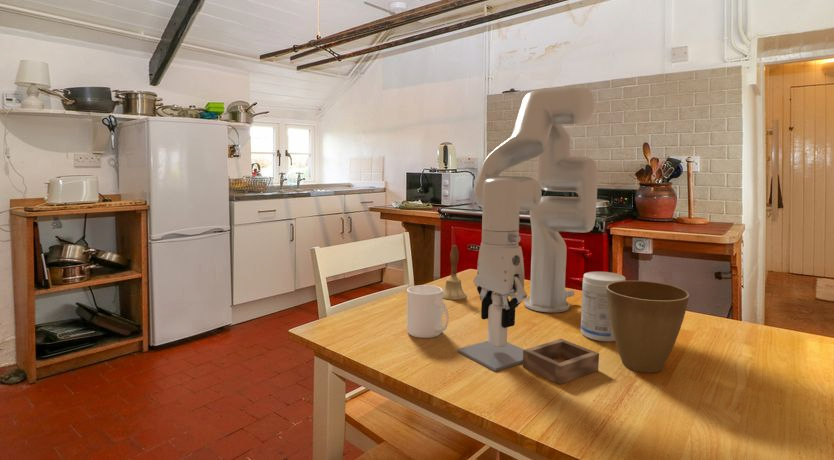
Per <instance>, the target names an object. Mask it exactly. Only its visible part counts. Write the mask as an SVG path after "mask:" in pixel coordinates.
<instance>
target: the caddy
mask: <svg viewBox="0 0 834 460" xmlns="http://www.w3.org/2000/svg"><path fill="white" fill-rule="evenodd" d="M560 358H562V359H563V360H564V361H562V362H559V361H557V360H558V359H560ZM599 361H600V352H596V351H594V350H591V349H589V348H586V347H583V346H581V345H579V344H576V343H574V342H571V341H569V340H565V339H563V338H559V339H557V340H552V341H549V342H546V343H543V344H538V345H536V346H532V347H528V348H526V349H524V350H523V363H522V367H523V368H525V369H527V370H528V371H530V372H531V371H532V372H533V373H535V374H537V375H539V376H542V377H543V378H545V379H548V380H550V381H551V382H554V383H556V384H557V385H563V384H565V383H568V382H570V381H573V380H575V379H577V378H581V377H584V376H586V375H589V374H591V373H595V372H596V371H599V365H600V364H599V363H600V362H599Z"/></svg>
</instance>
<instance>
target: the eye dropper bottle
mask: <svg viewBox="0 0 834 460" xmlns="http://www.w3.org/2000/svg"><path fill="white" fill-rule="evenodd" d="M492 303H493V304H491V305H490V306H489V309H488V319H487V341H488V342H489V343H490V344H492V345H493V346H495V347H505V346H507V342H508V327H507V328H503V327H502V309H504V303H503V298H502V294H498V293H495V292H494V294H493V297H492Z"/></svg>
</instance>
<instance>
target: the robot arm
mask: <svg viewBox="0 0 834 460" xmlns="http://www.w3.org/2000/svg"><path fill="white" fill-rule="evenodd" d="M594 108H595V99H594V94H593V92H592V90H590V89H589V87H574V86H573V87H572V86H571V87H569V86H568V87H556V88H541V89H536V90H532V91H530V92H528V93H527V94H525V96H523V99H522V101H521V104H520V107H519V111H518V112H517V117H516V119H515V123H514V125H513V129H512V133H511V135H510V137H509V138H508V139H506V140H505V141H504V142H502V143H501V144H500V145H498V146H497V147H496V148H494V149H493V151H491V152H490V153H489V154H488V155H487V157H486V158H485V159H484V161H483V163H482V165H481V167H480V171H479V173H478V176H477V179H476V183H475V186H474V198H475V202H476V204H477V205H478V206H479V207H480V208H482V216H481V217H482V220H481V228H482V229H481V242H480V246H479V251H478V258H477V266H476V267H477V268H476V276H475V277H474V278H473V280H472V281H473V284H474V286H475V287H476V290H477V292H478V294H479V301H481V309H480V310H481V312H480V313H481V314H480V317H481V319H482V320H488V309H489V306H490V305H491V304H493V303H492V299H493V294H494V293H498V294H502V298H503V303H504V304H503V305H504V309H502V327H503V328H507V329H508V328H509V327H513V326H514V327H515V322H516V308H518V307H519V305H520V304H521V303H522V301H523V304H524V306H525V307H526V308H527V309H528V310H532V311H535V312H539V313H540V312H542V313H553V314H554V313H556V314H557V313H562V312H567V311H569V310H570V302H568V301H567V299H568V298H571V297H574V296H575V291H574V290H573V289H569V290H566V274H567V273H566V268H567V244H566V241H565V239H564V238H563V237H562V235H561V233H560V232H568V233H569V232H570V233H580V234H581V233H582V234H583V233H589V232H591V231H592V230H593V229H594V227H595V224H596V219H597V218H596V216H597V203H598V202H597V200H598V199H597V198H598V184H599V179H598V178H599V172H598V171H599V170H598V165H597V163H596V161H595V160H594V159H593V158H592V157H589V156H571V153H570V151H571V138H570V134H569V133H568V131H567V130H566V128H565V127H564V126H563V125H577V124H583V123H586V122H587V121H588V120H590V118H591V116H592V114H593V112H594ZM535 158H537V161H536V162H537V163H536V166H537V167H536V179H535V178H533V177H530V176H517V175H516V176H514V175H510V176H509V175H508V176H506V175H501V174H503V173H504V172H505V171H506V170H508V169H511V168H512V167H515V166H517V165H520V164H522V163H525V162H527V161H530V160H533V159H535ZM542 191H546V192H547V191H548V192H561V193H565V192H566V193H567V192H569V193H575V194H577V196H578V197H575V196H573V197H572V196H561V195H560V196H554V195H544V196H543V195H542ZM520 212H529V219H530V227H531V254H530V255H531V257H530V259H531V260H530V284H529V285H530V286H529V288H530V289H529V297H528V293H527V292H526V289H525V266H524V256H523V255H524V254H523V249H522V246H520V245H519V243H520V242H521V236H520V232H519V231H520ZM509 297H510V299H509Z"/></svg>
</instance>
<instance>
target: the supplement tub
mask: <svg viewBox="0 0 834 460" xmlns="http://www.w3.org/2000/svg"><path fill="white" fill-rule="evenodd" d="M617 281H627V280H626V277H625V276H624V275H622V274H620V273H616V272H612V271H611V272H610V271H588V272H585V273H584V274H583V279H582V286H581V288H582V290H581V308H580V309H581V314H580V333H581V334H582V335H583V336H584V337H586V338H588V339H591V340H593V341H599V342H607V343H611V342H616V341H615V338H614V334H613V329H612V325H611V320H610V314H609V308H608V300H607V290H606V286H607V285H608V284H610V283H612V282H617Z"/></svg>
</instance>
